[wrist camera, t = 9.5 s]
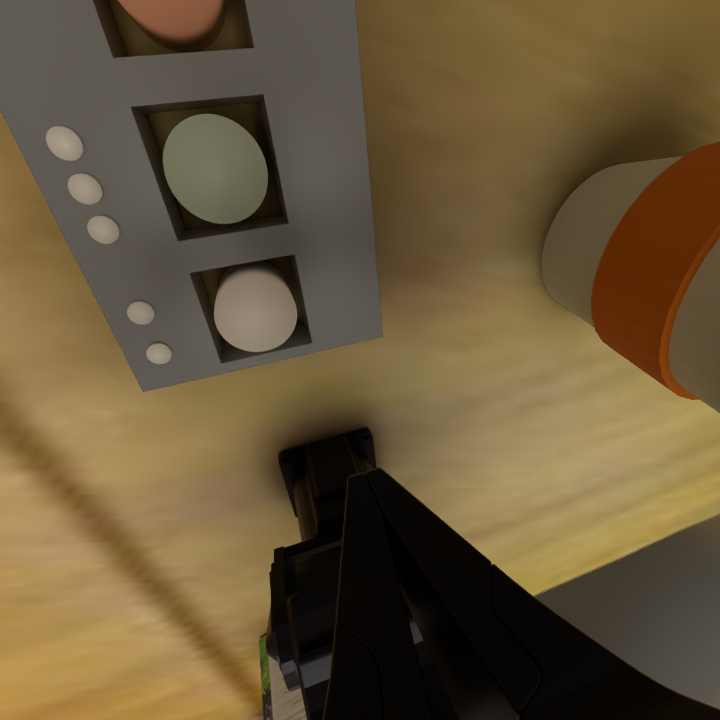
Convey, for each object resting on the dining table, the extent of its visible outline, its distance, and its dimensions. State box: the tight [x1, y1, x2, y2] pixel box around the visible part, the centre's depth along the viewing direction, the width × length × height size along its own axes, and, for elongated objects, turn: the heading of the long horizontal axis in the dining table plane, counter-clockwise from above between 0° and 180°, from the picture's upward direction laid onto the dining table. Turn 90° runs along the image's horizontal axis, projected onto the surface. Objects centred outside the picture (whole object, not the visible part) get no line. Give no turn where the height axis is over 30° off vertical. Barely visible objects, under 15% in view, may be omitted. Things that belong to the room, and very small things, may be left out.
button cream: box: [214, 261, 297, 352], centre depth 18 cm, size 4×4×3 cm
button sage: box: [163, 114, 268, 224], centre depth 15 cm, size 4×4×3 cm
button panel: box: [0, 0, 383, 392], centre depth 15 cm, size 17×12×3 cm
